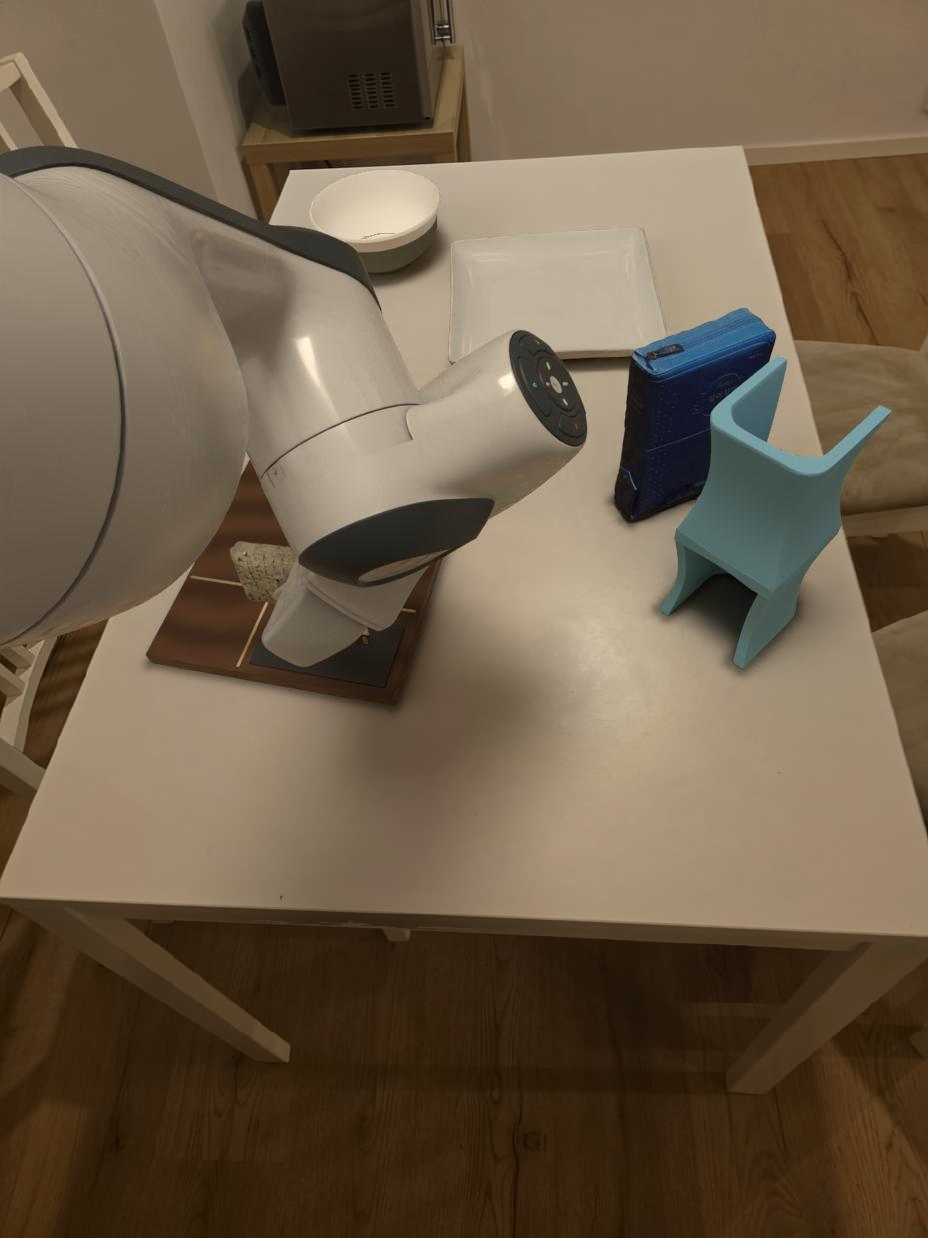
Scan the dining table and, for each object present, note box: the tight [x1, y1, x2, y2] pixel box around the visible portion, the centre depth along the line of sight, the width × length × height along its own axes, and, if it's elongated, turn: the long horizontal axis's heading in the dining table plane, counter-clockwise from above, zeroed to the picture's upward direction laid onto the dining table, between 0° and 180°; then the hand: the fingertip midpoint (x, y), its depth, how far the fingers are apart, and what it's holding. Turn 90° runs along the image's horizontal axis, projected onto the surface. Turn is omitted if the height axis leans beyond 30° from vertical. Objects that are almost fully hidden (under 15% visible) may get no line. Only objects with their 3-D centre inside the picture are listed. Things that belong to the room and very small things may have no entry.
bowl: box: [308, 169, 442, 275], centre depth 116 cm, size 19×19×8 cm
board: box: [145, 459, 443, 707], centre depth 90 cm, size 42×26×2 cm, turn 166°
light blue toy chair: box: [659, 354, 893, 670], centre depth 70 cm, size 10×10×25 cm
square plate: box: [447, 227, 670, 364], centre depth 107 cm, size 27×27×4 cm
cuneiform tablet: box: [230, 541, 372, 646], centre depth 66 cm, size 7×4×12 cm
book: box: [613, 307, 777, 521], centre depth 81 cm, size 14×5×20 cm, turn 115°
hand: (294, 570), depth 65 cm, fingers closed on cuneiform tablet, 4 cm apart
